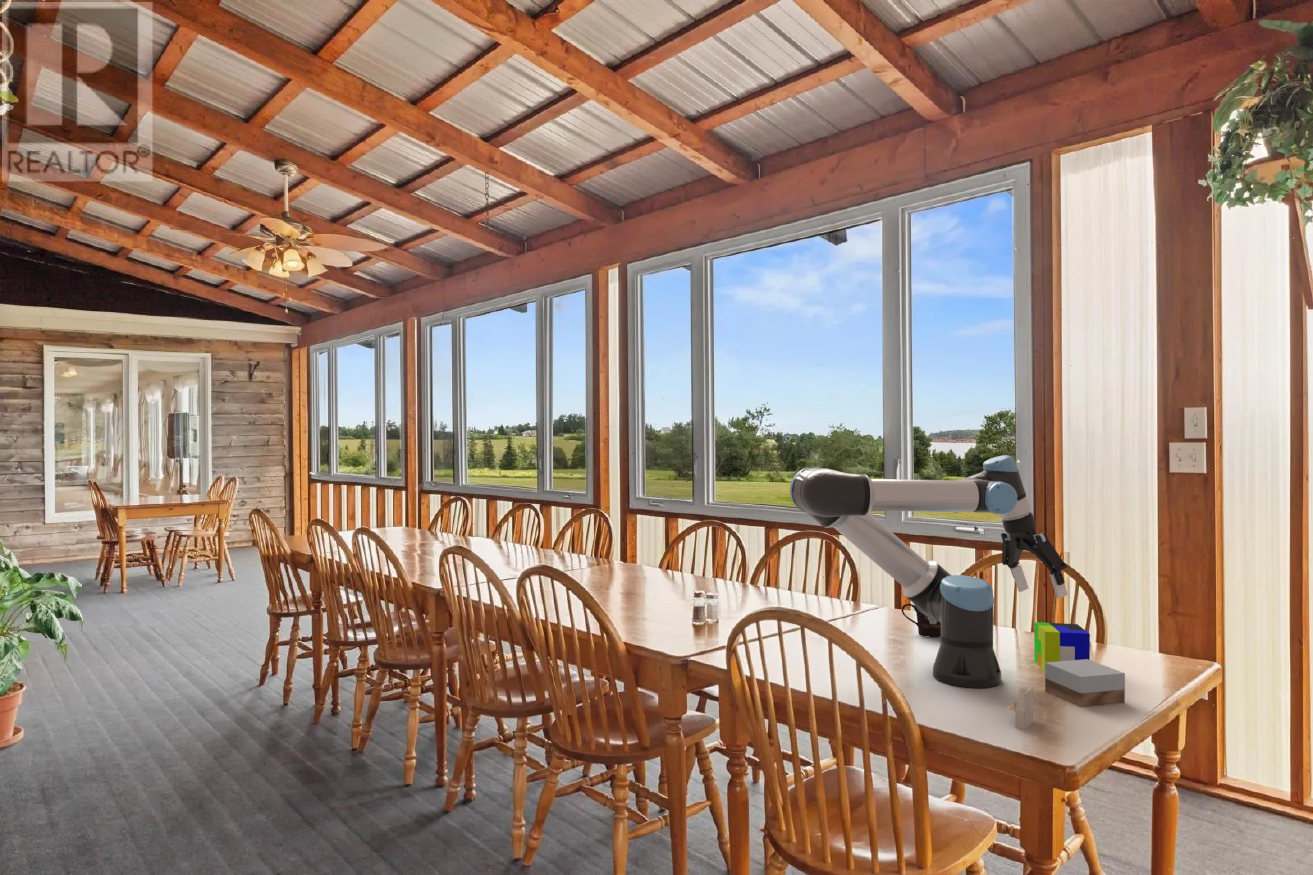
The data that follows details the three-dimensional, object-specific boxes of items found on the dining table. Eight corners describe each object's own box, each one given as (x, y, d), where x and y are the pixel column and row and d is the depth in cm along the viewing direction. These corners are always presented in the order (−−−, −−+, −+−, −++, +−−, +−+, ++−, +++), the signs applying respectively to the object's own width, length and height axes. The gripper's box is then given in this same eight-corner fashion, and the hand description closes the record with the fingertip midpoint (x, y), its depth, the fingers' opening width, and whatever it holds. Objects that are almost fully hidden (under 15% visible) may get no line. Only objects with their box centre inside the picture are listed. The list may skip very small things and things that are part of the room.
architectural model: (1007, 727, 162) (1007, 690, 162) (1017, 718, 167) (1017, 682, 167) (1025, 731, 160) (1025, 694, 160) (1035, 722, 165) (1035, 685, 165)
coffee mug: (949, 633, 235) (949, 599, 235) (942, 640, 228) (942, 604, 228) (908, 628, 242) (908, 594, 241) (900, 634, 234) (900, 599, 234)
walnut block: (1081, 709, 173) (1081, 693, 173) (1045, 693, 183) (1045, 678, 183) (1124, 705, 175) (1124, 689, 175) (1086, 689, 186) (1086, 674, 186)
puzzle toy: (1089, 675, 195) (1089, 633, 195) (1044, 672, 197) (1045, 631, 197) (1076, 663, 205) (1077, 624, 205) (1034, 661, 207) (1034, 622, 207)
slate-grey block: (1080, 693, 172) (1080, 676, 172) (1045, 678, 183) (1045, 662, 183) (1124, 689, 175) (1124, 673, 175) (1087, 674, 186) (1087, 659, 186)
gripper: (1064, 511, 196) (1092, 593, 197) (994, 508, 220) (1019, 582, 221) (1040, 522, 194) (1068, 605, 195) (972, 518, 218) (998, 592, 219)
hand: (1042, 593), depth 208 cm, fingers open, 13 cm apart
